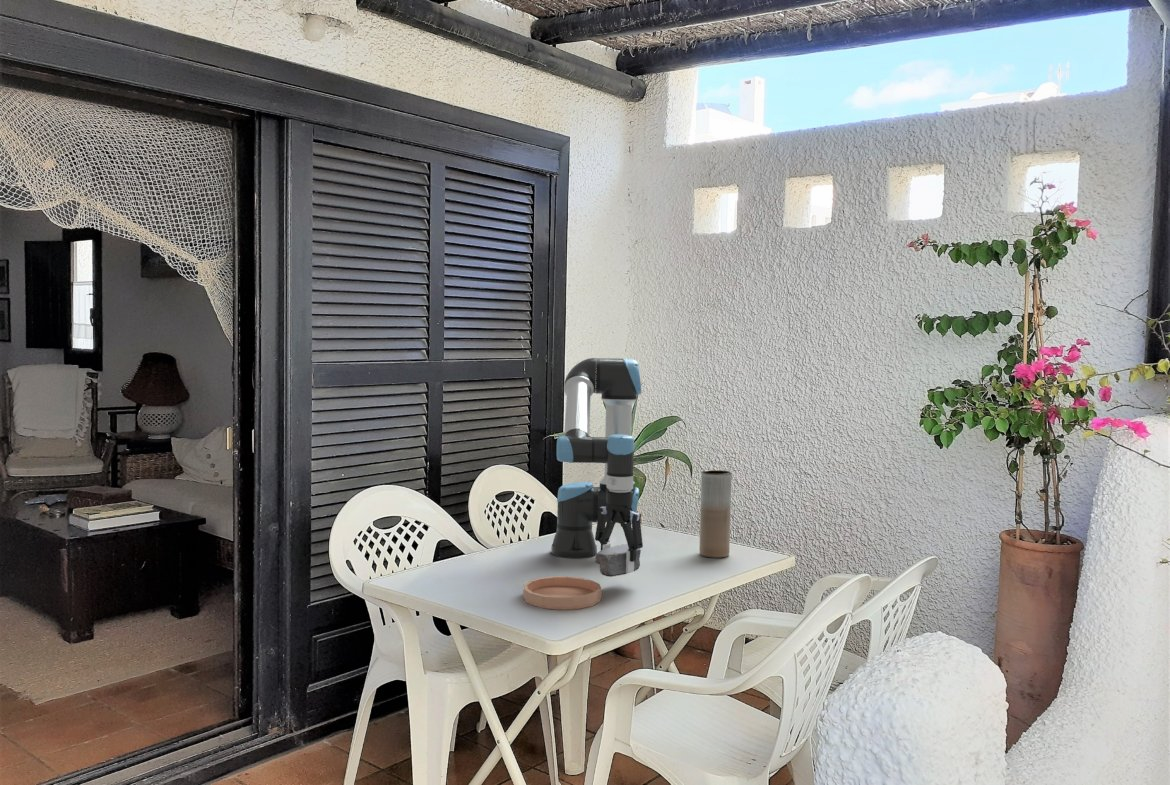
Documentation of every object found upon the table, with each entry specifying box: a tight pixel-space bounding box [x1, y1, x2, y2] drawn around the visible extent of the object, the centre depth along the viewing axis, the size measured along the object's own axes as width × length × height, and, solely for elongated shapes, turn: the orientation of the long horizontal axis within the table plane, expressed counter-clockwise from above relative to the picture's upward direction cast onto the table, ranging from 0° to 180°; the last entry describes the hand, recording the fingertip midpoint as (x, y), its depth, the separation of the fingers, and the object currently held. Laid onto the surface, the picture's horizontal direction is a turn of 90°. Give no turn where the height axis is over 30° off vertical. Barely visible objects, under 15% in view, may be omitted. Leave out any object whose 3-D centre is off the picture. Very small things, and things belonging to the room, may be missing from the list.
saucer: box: [522, 576, 603, 611], centre depth 241 cm, size 21×21×3 cm
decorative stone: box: [595, 543, 642, 578], centre depth 251 cm, size 15×7×10 cm
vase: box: [698, 469, 732, 559], centre depth 294 cm, size 10×10×28 cm
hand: (617, 569), depth 251 cm, fingers closed on decorative stone, 8 cm apart
